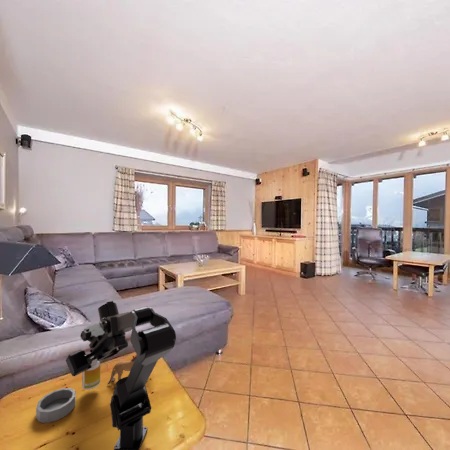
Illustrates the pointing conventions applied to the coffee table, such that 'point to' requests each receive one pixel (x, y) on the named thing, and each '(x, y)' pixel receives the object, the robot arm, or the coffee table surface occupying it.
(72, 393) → the grey faceted bowl
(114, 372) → the lion figurine
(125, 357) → the coffee table surface
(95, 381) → the supplement bottle
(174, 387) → the coffee table surface
